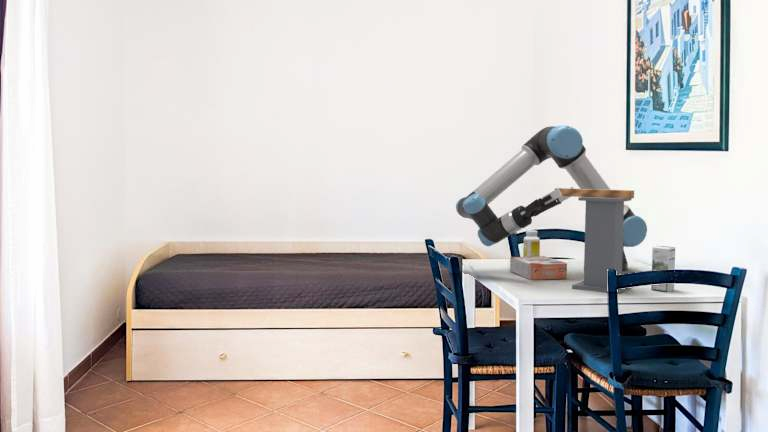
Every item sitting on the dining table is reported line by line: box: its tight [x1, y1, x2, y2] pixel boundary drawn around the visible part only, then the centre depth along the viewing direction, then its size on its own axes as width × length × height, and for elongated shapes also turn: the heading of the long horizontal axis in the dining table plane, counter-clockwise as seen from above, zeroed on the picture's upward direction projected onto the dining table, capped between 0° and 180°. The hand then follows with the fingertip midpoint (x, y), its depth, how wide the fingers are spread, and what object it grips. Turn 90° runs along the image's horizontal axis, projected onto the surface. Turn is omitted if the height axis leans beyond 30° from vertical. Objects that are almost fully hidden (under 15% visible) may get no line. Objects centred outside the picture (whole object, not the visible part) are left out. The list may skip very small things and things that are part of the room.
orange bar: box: [554, 187, 635, 200], centre depth 264 cm, size 26×4×2 cm, turn 57°
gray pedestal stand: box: [571, 197, 632, 294], centre depth 263 cm, size 16×14×30 cm
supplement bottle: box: [522, 229, 541, 257], centre depth 328 cm, size 7×7×13 cm
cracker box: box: [509, 255, 568, 281], centre depth 291 cm, size 14×6×21 cm
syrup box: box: [650, 245, 676, 293], centre depth 261 cm, size 6×6×14 cm
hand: (567, 190), depth 269 cm, fingers open, 13 cm apart
